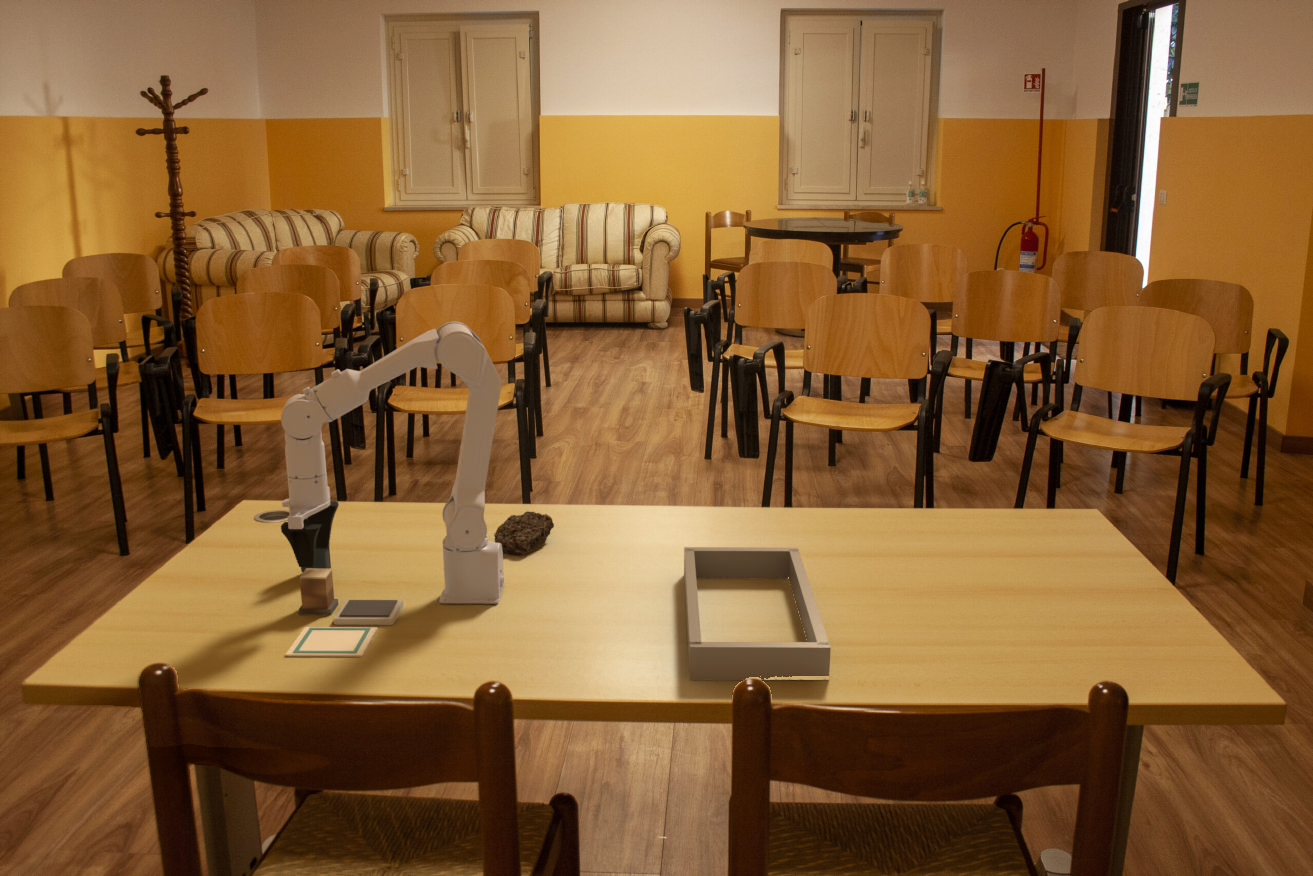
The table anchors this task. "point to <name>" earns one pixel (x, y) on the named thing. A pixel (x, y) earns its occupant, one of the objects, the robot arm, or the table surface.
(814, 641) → the open rectangular frame
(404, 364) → the robot arm
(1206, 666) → the table surface
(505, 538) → the dark brown rock
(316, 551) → the vaping device
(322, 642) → the print sheet
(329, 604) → the stamp
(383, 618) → the ink pad
